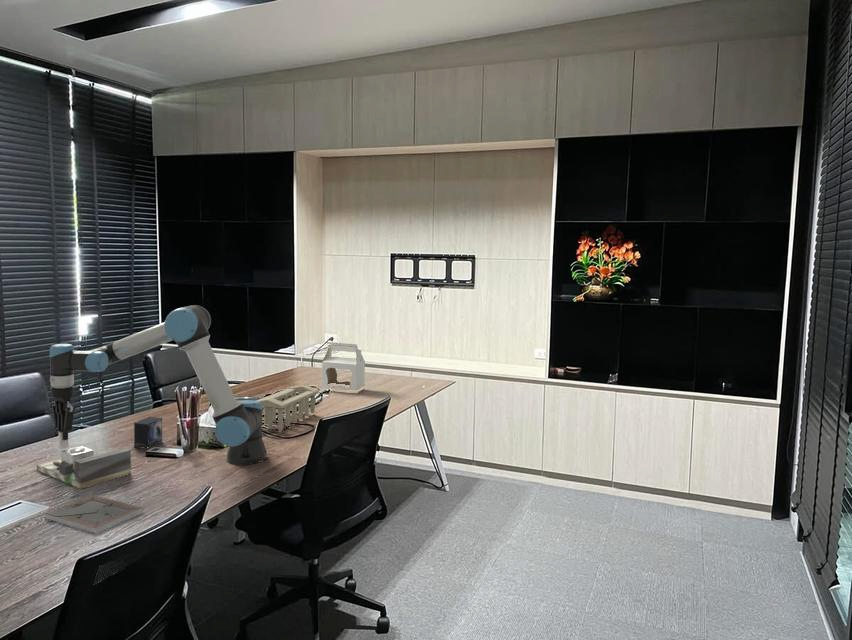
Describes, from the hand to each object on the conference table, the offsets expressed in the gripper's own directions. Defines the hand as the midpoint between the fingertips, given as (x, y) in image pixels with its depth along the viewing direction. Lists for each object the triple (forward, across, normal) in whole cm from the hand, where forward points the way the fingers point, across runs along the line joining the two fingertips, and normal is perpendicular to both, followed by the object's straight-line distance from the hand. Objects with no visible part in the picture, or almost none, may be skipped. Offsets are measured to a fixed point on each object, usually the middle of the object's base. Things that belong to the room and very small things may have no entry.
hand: (63, 447), depth 236 cm
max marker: (+4, +16, -7) cm, 18 cm away
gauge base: (+6, +13, 0) cm, 15 cm away
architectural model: (+6, +21, +93) cm, 96 cm away
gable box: (+6, -3, +162) cm, 162 cm away
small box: (+7, +2, +33) cm, 34 cm away
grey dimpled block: (+4, +9, -2) cm, 10 cm away
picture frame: (+7, +52, -17) cm, 55 cm away
